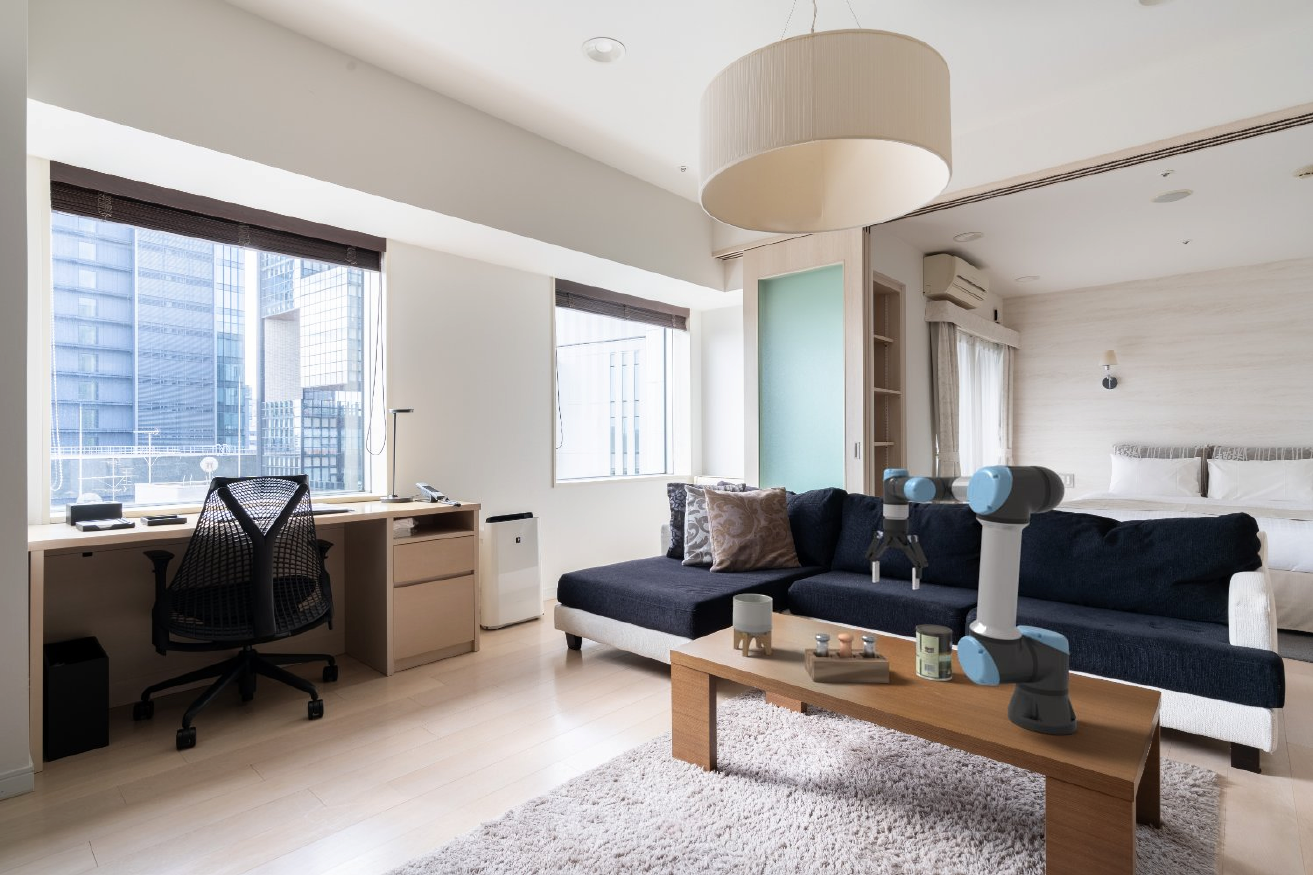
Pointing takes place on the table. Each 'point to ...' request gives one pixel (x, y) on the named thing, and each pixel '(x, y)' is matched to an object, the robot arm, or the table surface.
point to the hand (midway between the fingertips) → (895, 585)
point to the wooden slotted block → (846, 667)
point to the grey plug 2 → (869, 645)
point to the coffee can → (934, 652)
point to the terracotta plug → (845, 645)
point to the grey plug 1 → (822, 644)
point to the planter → (752, 621)
